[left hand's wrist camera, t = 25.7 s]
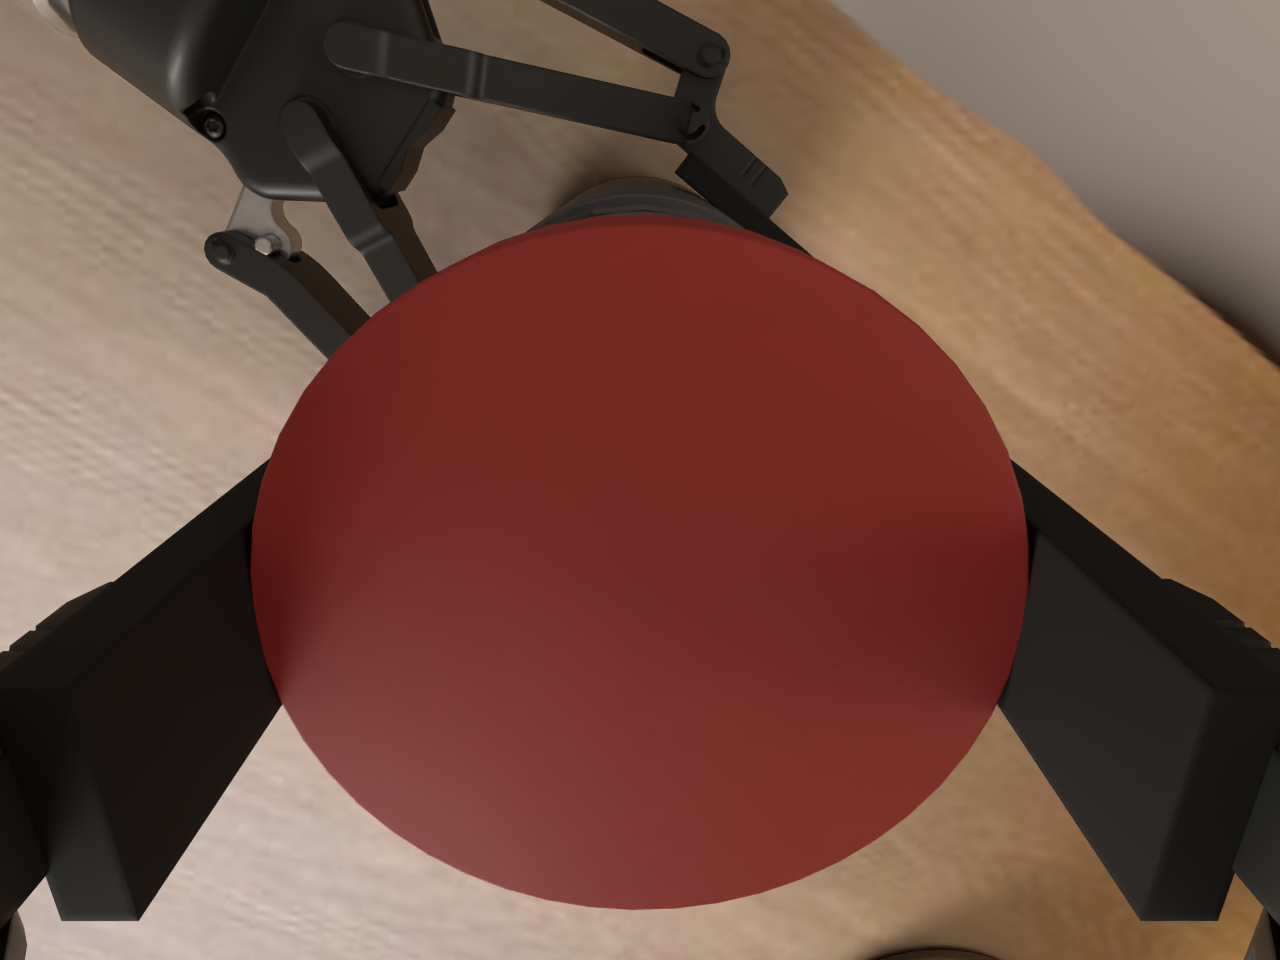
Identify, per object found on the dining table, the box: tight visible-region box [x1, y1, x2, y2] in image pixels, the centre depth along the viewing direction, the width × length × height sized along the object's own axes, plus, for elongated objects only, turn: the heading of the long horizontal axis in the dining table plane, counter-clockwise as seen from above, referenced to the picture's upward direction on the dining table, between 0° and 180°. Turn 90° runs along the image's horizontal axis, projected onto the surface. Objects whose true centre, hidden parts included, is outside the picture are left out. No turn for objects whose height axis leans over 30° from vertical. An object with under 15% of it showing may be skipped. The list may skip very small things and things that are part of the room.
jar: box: [527, 176, 746, 232], centre depth 26 cm, size 9×9×15 cm
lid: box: [250, 214, 1029, 910], centre depth 11 cm, size 10×10×2 cm
